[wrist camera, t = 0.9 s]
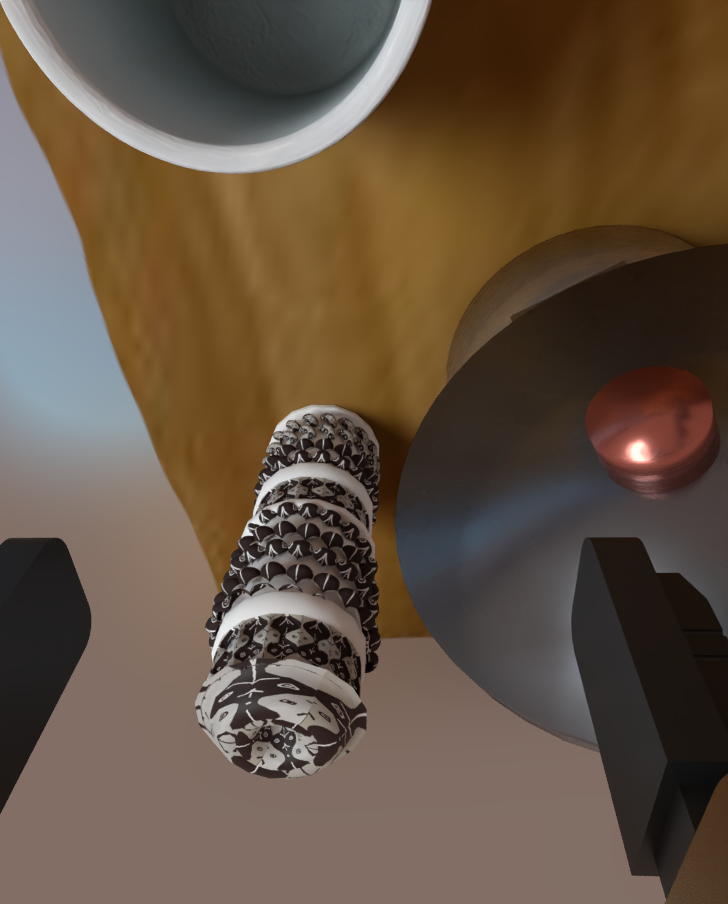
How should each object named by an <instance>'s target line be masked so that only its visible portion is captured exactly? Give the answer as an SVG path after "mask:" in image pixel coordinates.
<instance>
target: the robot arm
mask: <svg viewBox="0 0 728 904" xmlns="http://www.w3.org/2000/svg"><path fill="white" fill-rule="evenodd" d="M90 630H91V612H90V607H89V604H88V601H87V599H86V596H85V593H84V590H83V588H82V585H81V583H80V580H79V577H78V575H77V572H76V569H75V566H74V564H73V561H72V558H71V556H70V553H69V550H68V548H67V546H66V544H65V543H64V542H63V541H62V540H61V539H59V538H9V539H7V540H5V541H4V542H3V543H2V544H1V545H0V813H1V812H2V810H3V808H4V806H5V804H6V802H7V800H8V798H9V796H10V794H11V792H12V790H13V788H14V786H15V784H16V782H17V780H18V778H19V776H20V774H21V773H22V771H23V769H24V767H25V765H26V763H27V761H28V759H29V757H30V755H31V753H32V751H33V749H34V747H35V745H36V743H37V741H38V739H39V738H40V735H41V733H42V732H43V730H44V727H45V726H46V724H47V722H48V720H49V718H50V716H51V714H52V712H53V710H54V708H55V706H56V704H57V702H58V701H59V699H60V697H61V695H62V693H63V691H64V689H65V687H66V685H67V683H68V681H69V679H70V677H71V675H72V673H73V671H74V669H75V667H76V665H77V663H78V662H79V660H80V658H81V656H82V654H83V652H84V650H85V648H86V646H87V643H88V640H89V636H90ZM571 632H572V642H573V648H574V653H575V657H576V661H577V665H578V669H579V673H580V677H581V681H582V684H583V688H584V692H585V696H586V700H587V704H588V708H589V712H590V716H591V719H592V723H593V727H594V731H595V735H596V739H597V743H598V747H599V750H600V754H601V758H602V762H603V766H604V770H605V774H606V777H607V781H608V785H609V789H610V793H611V797H612V801H613V805H614V808H615V812H616V816H617V820H618V824H619V828H620V831H621V836H622V840H623V843H624V847H625V851H626V855H627V859H628V863H629V867H630V871H631V874H632V875H636V876H659V877H660V880H661V883H662V886H663V890H664V893H665V897H666V902H665V904H728V639H727V637H726V636H724V635H723V629H722V627H721V625H720V623H719V621H718V619H717V617H716V615H715V613H714V611H713V609H712V607H711V605H710V603H709V601H708V599H707V598H706V597H705V596H704V595H703V594H701V593H700V592H699V591H698V590H697V589H696V588H695V587H694V586H693V585H692V584H691V583H690V582H688V581H687V580H686V579H685V578H684V577H683V576H682V575H681V574H680V573H656V571H655V569H654V566H653V564H652V562H651V560H650V557H649V555H648V553H647V551H646V548H645V546H644V544H643V542H642V541H641V539H639V538H638V537H587V538H585V539H584V541H583V544H582V548H581V554H580V561H579V567H578V574H577V580H576V587H575V593H574V599H573V606H572V614H571Z"/></svg>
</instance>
